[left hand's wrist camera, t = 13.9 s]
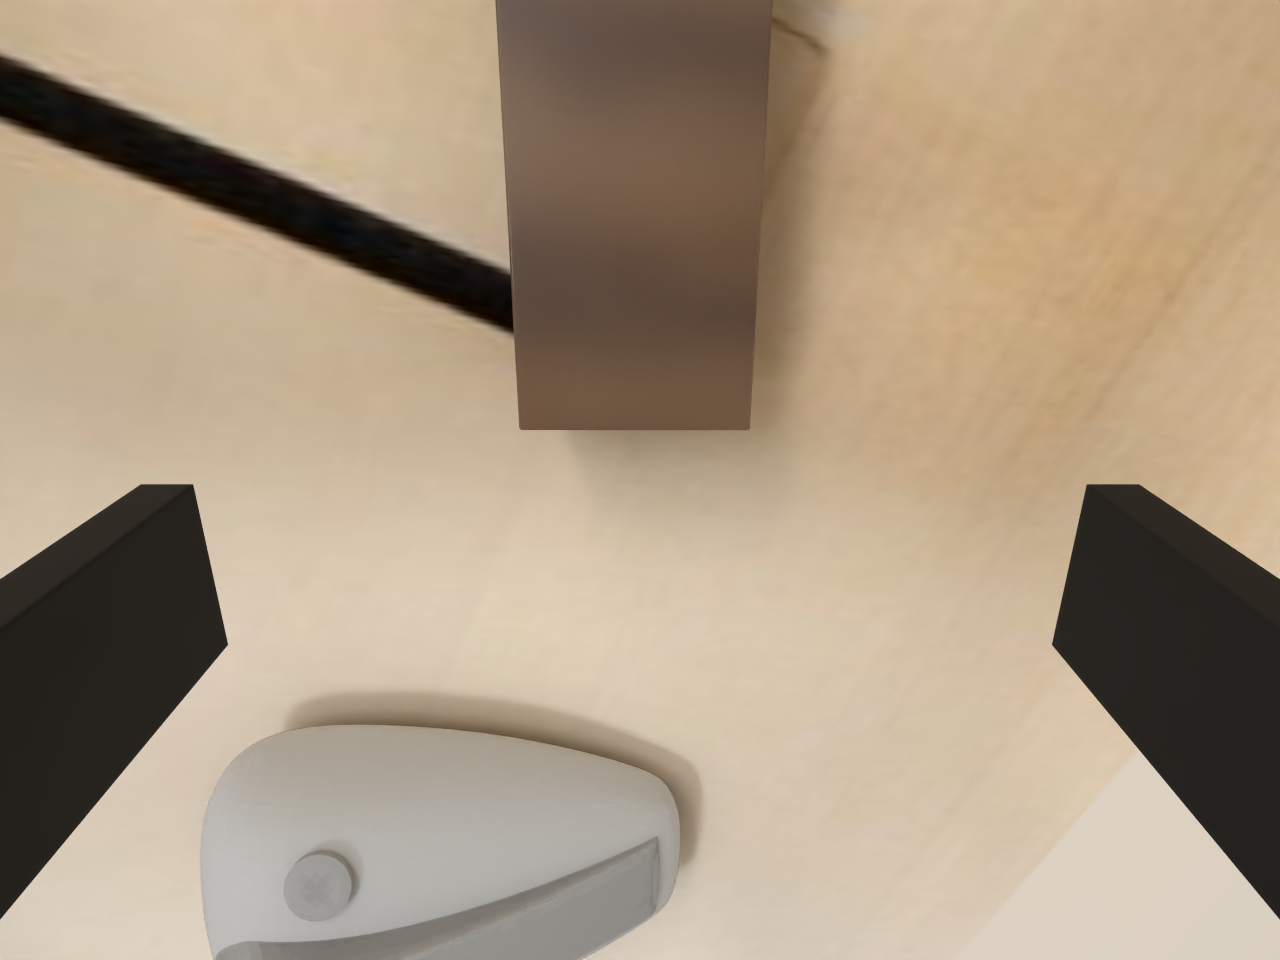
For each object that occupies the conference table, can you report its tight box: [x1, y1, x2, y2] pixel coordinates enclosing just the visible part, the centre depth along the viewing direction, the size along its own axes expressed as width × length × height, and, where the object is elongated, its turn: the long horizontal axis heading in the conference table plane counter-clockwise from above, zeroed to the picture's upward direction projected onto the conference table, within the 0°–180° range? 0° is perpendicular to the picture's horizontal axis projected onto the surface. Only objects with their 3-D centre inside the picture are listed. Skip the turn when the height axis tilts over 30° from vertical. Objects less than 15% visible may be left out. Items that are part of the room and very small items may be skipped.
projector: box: [201, 725, 680, 960], centre depth 40 cm, size 22×23×15 cm
